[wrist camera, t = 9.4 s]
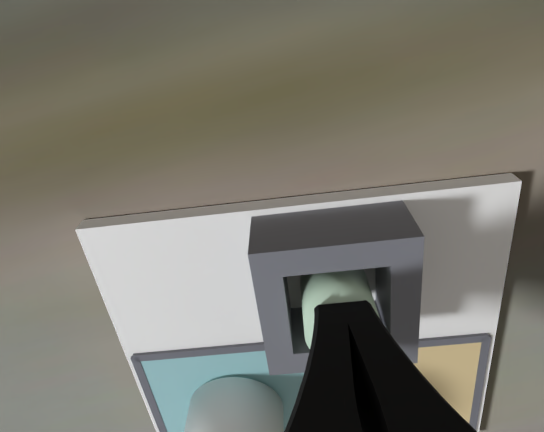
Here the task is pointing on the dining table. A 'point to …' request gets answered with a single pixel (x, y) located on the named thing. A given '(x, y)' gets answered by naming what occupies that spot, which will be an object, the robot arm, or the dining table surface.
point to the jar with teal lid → (235, 407)
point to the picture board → (286, 285)
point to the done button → (331, 293)
